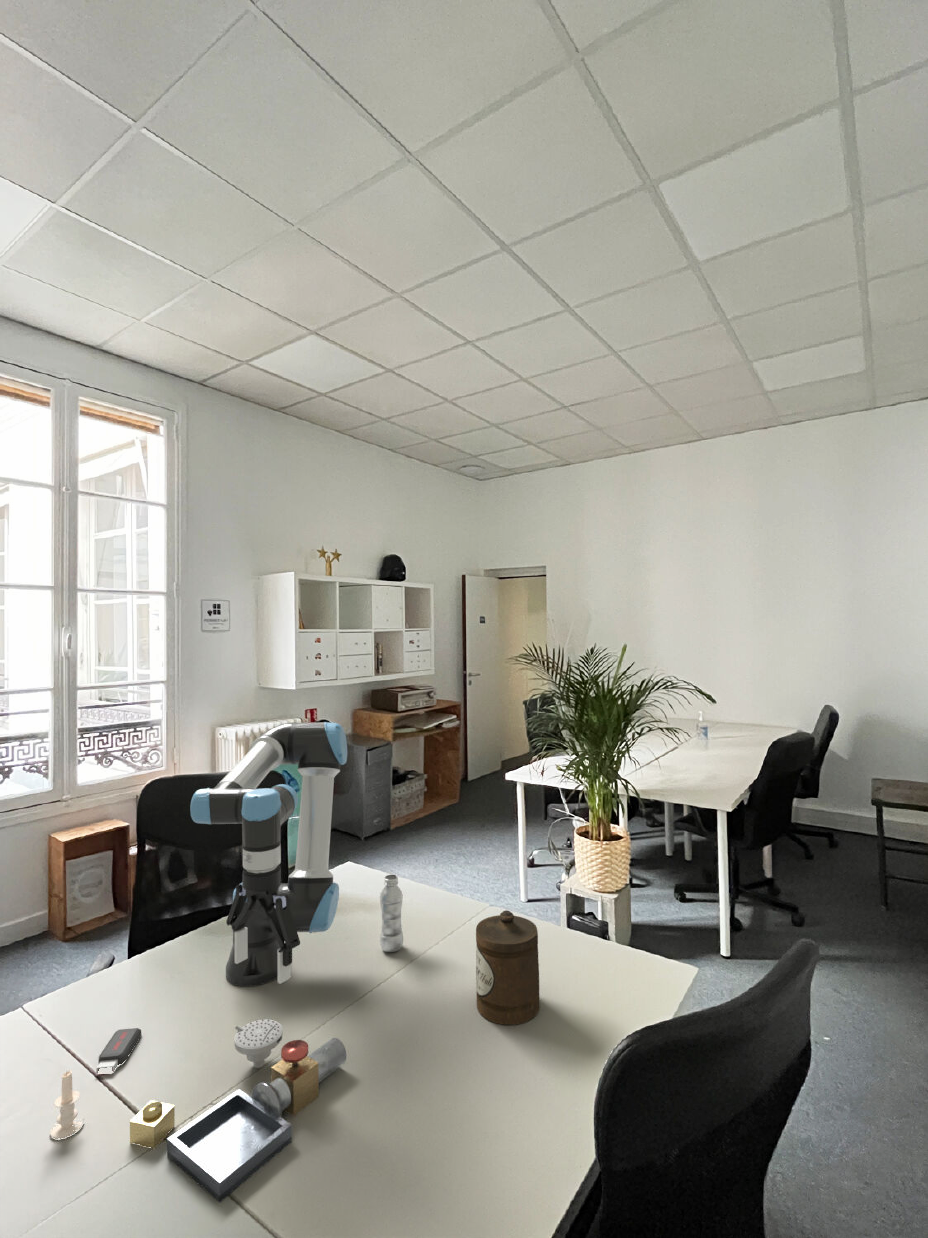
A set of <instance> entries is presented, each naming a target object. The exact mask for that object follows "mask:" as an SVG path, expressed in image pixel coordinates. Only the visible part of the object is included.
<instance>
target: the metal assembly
mask: <svg viewBox="0 0 928 1238" xmlns="http://www.w3.org/2000/svg"><path fill="white" fill-rule="evenodd" d="M280 1049H281V1050H280V1058H281V1060H279V1061H278V1062H276V1063H275V1064H274V1065H272V1066H270V1076H271V1077H270V1082H268V1081H266V1080H265V1081H264V1080H263V1081H260V1082H259V1083H257V1084H255V1086H254V1087H253V1089H252V1092H251V1096H250V1095H249V1094H247V1093H246V1092H245V1091H242V1090H241V1089H239V1088H238V1089H237V1090H235V1091H233V1092H232V1093H230V1094H228V1096H226V1097H225V1098H224V1099H222V1100H221V1101H219V1102H217V1104H215V1105H214V1106H212V1107H210V1108H209V1109H208V1110H206V1111H204V1112H203V1113H202V1114H201V1115H199V1116H198V1117H196V1118H195V1119H193V1120H192V1121H190V1122H189V1123H188V1124H186V1125H185V1126H183V1127H181V1129H179V1130H177V1131H176V1132H175V1133H173V1134H172V1135H170V1136H169V1137H167V1138H166V1141H167V1142H166V1147H167V1148H166V1152H167V1155H166V1157H167V1158H168V1159H170V1161H172V1162H173V1164H175V1165H177V1166H178V1167H179V1168H180V1169H181V1170H182V1171H183V1172H184V1173H185V1174H186V1175H187V1176H189V1177H190V1178H191V1179H192V1180H194V1181H195V1182H196V1183H197V1184H198V1185H199V1186H200V1187H201V1188H203V1189H204V1190H205V1191H206V1192H207V1193H208V1194H209V1195H210V1196H211V1197H213V1198H214V1199H215V1200H216V1201H217V1202H219V1203H221V1202H222V1201H224V1199H226V1198H227V1197H228V1196H229V1195H231V1194H232V1193H233V1192H234V1191H235V1190H237V1189H238V1188H239V1187H240V1186H241V1185H243V1184H244V1183H245V1182H246V1181H247V1180H249V1178H251V1177H252V1176H253V1175H254V1174H255V1173H257V1172H258V1171H259V1170H260V1169H261V1168H263V1167H264V1166H265V1165H266V1164H267V1163H269V1162H270V1161H271V1160H272V1159H273V1158H275V1157H276V1156H277V1155H278V1154H279V1153H281V1152H282V1151H283V1150H284V1149H285V1148H287V1147H288V1146H289V1145H290V1144H291V1143H292V1142H293V1141H292V1139H293V1138H292V1135H293V1134H292V1124H291V1123H290V1122H289V1121H287V1120H285V1119H284V1118H283V1117H282V1112H283V1111H284V1112H286V1113H288V1114H289V1115H291V1116H292V1117H295V1116H296V1115H297V1114H298V1113H300V1112H301V1111H303V1110H304V1109H305V1108H306V1107H308V1105H310V1104H312V1103H313V1101H315V1100H316V1099H317V1098H319V1097H320V1096H319V1094H320V1093H319V1092H320V1090H319V1089H320V1088H319V1087H320V1086H319V1083H321V1081H323V1080H324V1079H325V1078H327V1077H328V1076H329V1075H331V1074H332V1073H333V1072H335V1071H337V1069H339V1068H340V1067H341V1066H342V1065H343V1064H345V1063H346V1061H347V1054H348V1053H347V1049H346V1047H345V1045H344V1043H343V1042H342V1040H340V1039H339V1038H338V1037H332V1038H331V1039H329V1040H328V1041H327V1042H325V1043H324V1044H323V1045H321V1046H320V1047H318V1048H317V1049H316V1050H314V1051H313V1052H312V1053H310V1054H309V1043H308V1042H307V1041H305V1040H302V1039H294V1040H291V1041H288V1042H287V1043H285V1044H284V1045H282V1047H281V1048H280ZM308 1054H309V1055H308Z"/></svg>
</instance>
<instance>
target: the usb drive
mask: <svg viewBox="0 0 928 1238" xmlns="http://www.w3.org/2000/svg"><path fill="white" fill-rule="evenodd" d="M140 1036H141V1037H142V1029H140V1028H139V1027H136V1028H135V1027H134V1028H123V1029H118V1030H116V1031H115V1032H114V1033H113V1035H112V1036H111V1038H110V1039H109V1040H108V1043H107V1044H106V1045H105V1047H104V1049H103V1050H102V1051H101V1053H100V1054H99V1055H98V1065H97V1066H96V1067H95V1068H96V1069H95V1074H96V1073H98V1071H99V1069H100V1068H107V1067H112V1071H113V1072H114V1070H115V1068H116V1067H117V1065H119V1064H122V1063H123V1062H124V1061H125V1060H126V1059H127V1058H128V1059H129V1057H128V1055H129V1054H130V1053H131V1054H132V1052H133V1051H132V1049H133V1048H134V1049H135V1047H136V1046H137V1044H138V1042H139V1041H138V1039H139V1038H140V1039H141V1037H140ZM140 1039H139V1040H140ZM137 1041H138V1042H137ZM136 1043H137V1044H136ZM135 1045H136V1046H135ZM134 1046H135V1047H134ZM134 1049H133V1050H134ZM131 1051H132V1052H131ZM131 1054H130V1055H131ZM128 1059H127V1060H128Z"/></svg>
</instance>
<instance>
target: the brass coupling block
mask: <svg viewBox="0 0 928 1238" xmlns="http://www.w3.org/2000/svg"><path fill="white" fill-rule="evenodd" d="M174 1126H175V1105H174V1104H171V1103H165V1102H161V1101H157V1100H149V1102H147V1103H146V1105H144V1107H143V1108H141V1110H140V1111H138V1113H137V1114H135V1116H134V1117H132V1119H130V1120H129V1144H130V1143H135V1144H140V1145H142V1146H146V1147H151V1148H155V1149H157V1147H158V1146H159V1145H160V1144H161V1143H162V1142H163V1141H164V1139H165V1138H166V1137H167V1136H166V1134H168V1132H169V1131H170V1130H171V1129H172V1128H173V1127H174ZM175 1127H176V1126H175ZM175 1127H174V1128H175ZM174 1128H173V1129H174ZM173 1129H172V1130H173ZM168 1135H169V1134H168ZM158 1144H159V1145H158ZM157 1145H158V1146H157ZM142 1146H141V1147H142ZM156 1146H157V1147H156ZM146 1147H145V1148H146Z"/></svg>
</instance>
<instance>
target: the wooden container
mask: <svg viewBox="0 0 928 1238" xmlns="http://www.w3.org/2000/svg"><path fill="white" fill-rule="evenodd" d="M538 933H539V932H538V927H537V925H536V924H535V923H534V922H533V921H532V920H530V919H527V918H525V917H522V916H517V915H515V914H513V912H511V911H510V910H503V911H502V912H500V914H499V915H493V916H489V917H486V918H484V919H482V920H480V921H479V922H478V923H477V925H476V928H475V941H476V943H475V944H476V951H475V952H476V953H475V954H476V958H475V960H476V961H475V964H476V965H475V970H476V971H475V981H476V982H475V984H476V988H475V989H476V1008H477V1010H478V1012H479V1014H480V1015H481V1016H482V1017H483V1018H484V1019H486V1020H488V1021H489V1022H492V1023H496V1024H500V1025H506V1026H507V1025H509V1026H510V1025H511V1026H512V1025H520V1024H524V1023H527V1022H529V1021H531V1020H533V1019H534V1018H535V1017H536V1016H537V1015H538V1014H539V1010H540V1008H541V1007H540V1006H541V1005H540V967H539V966H540V965H539V964H540V963H539V962H540V961H539V946H538V945H539V934H538Z"/></svg>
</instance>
